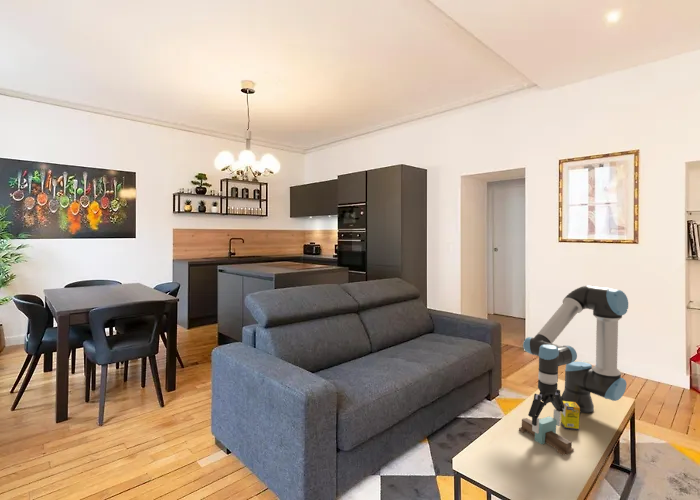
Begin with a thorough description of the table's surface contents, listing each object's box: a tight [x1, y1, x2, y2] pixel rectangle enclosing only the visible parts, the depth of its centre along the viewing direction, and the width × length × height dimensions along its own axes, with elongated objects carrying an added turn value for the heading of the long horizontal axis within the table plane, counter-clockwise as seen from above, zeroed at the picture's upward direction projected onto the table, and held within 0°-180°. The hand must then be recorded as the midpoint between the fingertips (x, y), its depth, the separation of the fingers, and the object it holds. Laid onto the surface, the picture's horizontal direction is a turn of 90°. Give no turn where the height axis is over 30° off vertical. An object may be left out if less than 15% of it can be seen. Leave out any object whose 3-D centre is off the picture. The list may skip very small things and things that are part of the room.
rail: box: [518, 417, 575, 456], centre depth 167 cm, size 7×22×4 cm, turn 26°
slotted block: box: [534, 415, 557, 445], centre depth 167 cm, size 9×4×9 cm, turn 116°
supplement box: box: [560, 401, 581, 431], centre depth 179 cm, size 6×6×11 cm
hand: (546, 428), depth 167 cm, fingers open, 13 cm apart
